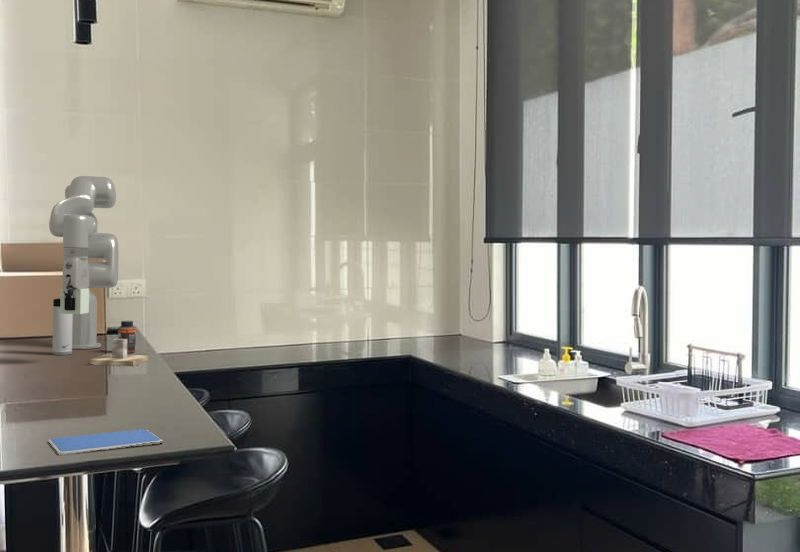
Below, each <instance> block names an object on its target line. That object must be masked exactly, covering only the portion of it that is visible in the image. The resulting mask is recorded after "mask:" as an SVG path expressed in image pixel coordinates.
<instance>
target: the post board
mask: <svg viewBox="0 0 800 552" xmlns="http://www.w3.org/2000/svg"><path fill="white" fill-rule="evenodd" d="M111 346H112V348H111V353H110V354H109V353H105V354H103V355H100V356H98V357H95V358H91V359H89V365H90V364H94V365H93V366H120V367H121V366H123V367H124V366H126V367H135V366H136V365H139V364H142V363H144V362H146V361H149V355H145V354H143V355H142V354H128V353H127V339H118V338H113V339H112V343H111Z"/></svg>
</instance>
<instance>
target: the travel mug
mask: <svg viewBox="0 0 800 552" xmlns="http://www.w3.org/2000/svg"><path fill="white" fill-rule="evenodd" d="M72 323H73V314H62V313H60V297H59V298H53V304H52V355H53V356H70V355H72V354H73V349H72ZM69 354H70V355H69Z"/></svg>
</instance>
